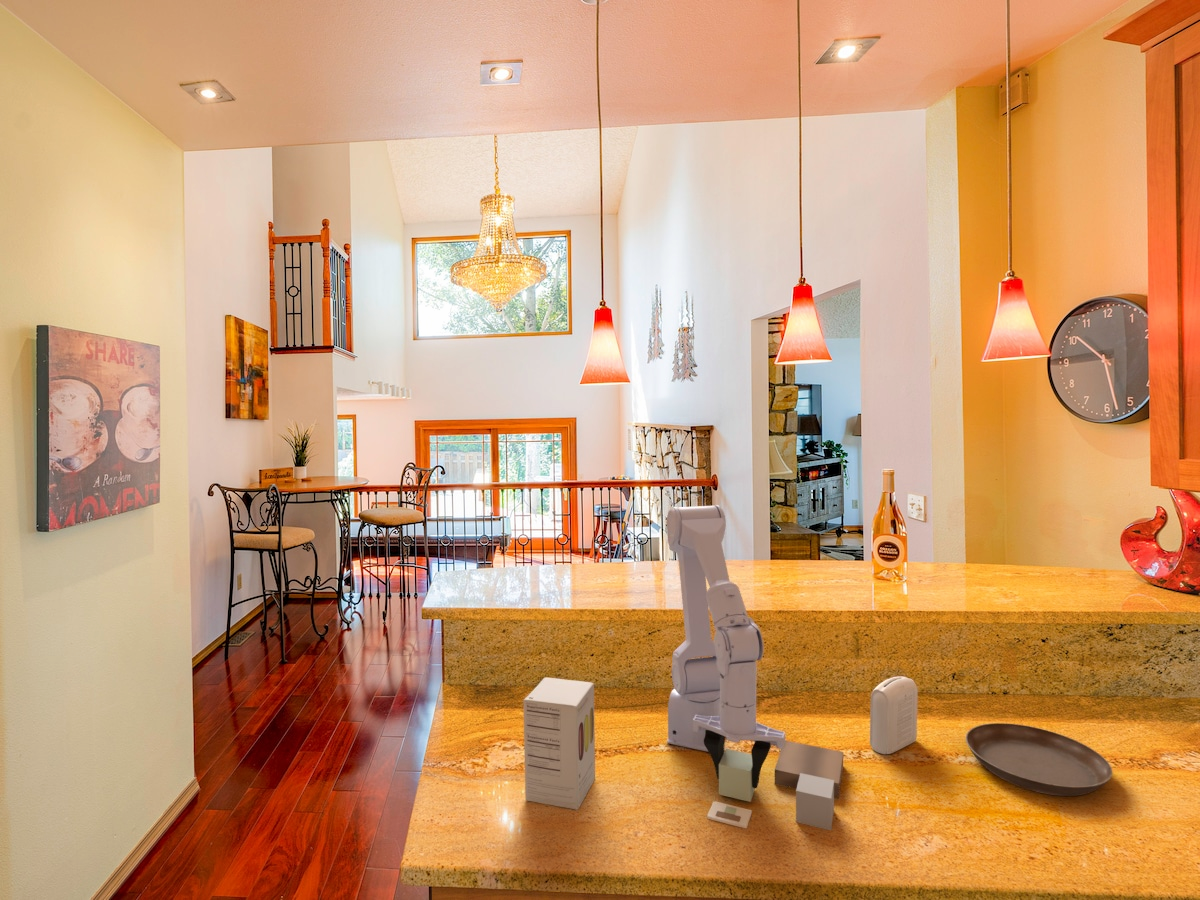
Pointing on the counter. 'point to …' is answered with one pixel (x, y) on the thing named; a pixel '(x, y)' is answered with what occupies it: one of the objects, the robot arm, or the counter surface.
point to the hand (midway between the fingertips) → (737, 780)
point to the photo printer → (893, 715)
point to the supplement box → (559, 742)
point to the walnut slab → (808, 765)
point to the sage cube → (736, 775)
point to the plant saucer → (1038, 759)
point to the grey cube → (815, 801)
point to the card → (729, 814)
